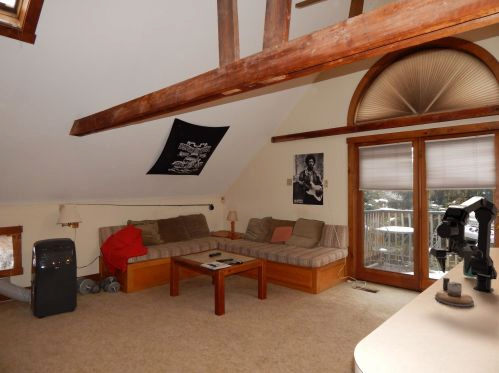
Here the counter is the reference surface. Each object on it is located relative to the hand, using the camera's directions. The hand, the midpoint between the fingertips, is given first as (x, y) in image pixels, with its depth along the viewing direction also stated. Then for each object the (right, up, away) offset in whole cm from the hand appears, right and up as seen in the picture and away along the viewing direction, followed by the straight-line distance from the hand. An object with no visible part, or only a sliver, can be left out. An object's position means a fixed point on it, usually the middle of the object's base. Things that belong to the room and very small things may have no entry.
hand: (455, 272), depth 143 cm
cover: (0, -10, +1) cm, 10 cm away
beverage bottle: (+27, -11, +32) cm, 43 cm away
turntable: (0, -11, +1) cm, 11 cm away
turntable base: (0, -12, +1) cm, 12 cm away
